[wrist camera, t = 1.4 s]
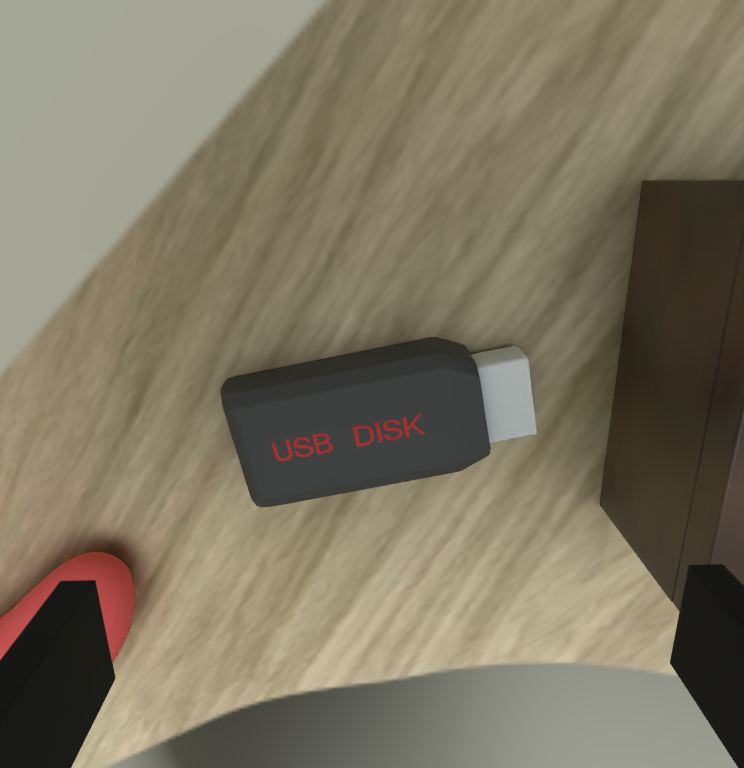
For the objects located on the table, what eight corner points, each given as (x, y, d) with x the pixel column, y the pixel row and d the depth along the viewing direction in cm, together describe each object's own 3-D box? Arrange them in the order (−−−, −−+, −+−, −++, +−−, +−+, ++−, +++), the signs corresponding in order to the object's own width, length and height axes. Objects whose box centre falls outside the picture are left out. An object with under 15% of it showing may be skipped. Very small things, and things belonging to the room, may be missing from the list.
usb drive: (226, 377, 24) (209, 402, 21) (511, 320, 23) (530, 338, 21) (259, 486, 26) (247, 520, 23) (525, 435, 25) (544, 465, 23)
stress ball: (185, 613, 30) (159, 646, 23) (19, 731, 28) (-57, 801, 22) (130, 528, 30) (90, 539, 24) (-37, 639, 28) (-128, 682, 22)
